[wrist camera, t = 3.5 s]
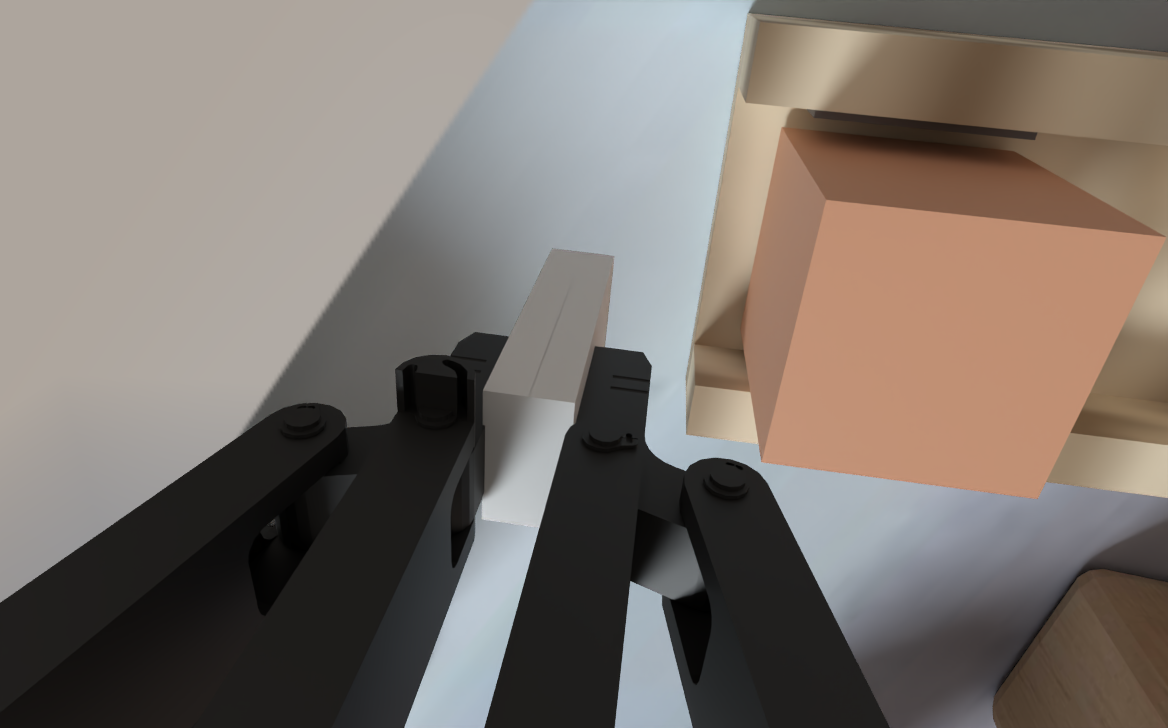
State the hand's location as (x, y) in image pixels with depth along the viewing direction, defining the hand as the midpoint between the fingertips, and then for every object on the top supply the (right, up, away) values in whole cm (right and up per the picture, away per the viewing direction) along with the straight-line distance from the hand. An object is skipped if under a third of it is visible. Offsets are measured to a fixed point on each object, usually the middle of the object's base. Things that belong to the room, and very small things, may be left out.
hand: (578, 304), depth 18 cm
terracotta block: (+9, +2, +6) cm, 12 cm away
